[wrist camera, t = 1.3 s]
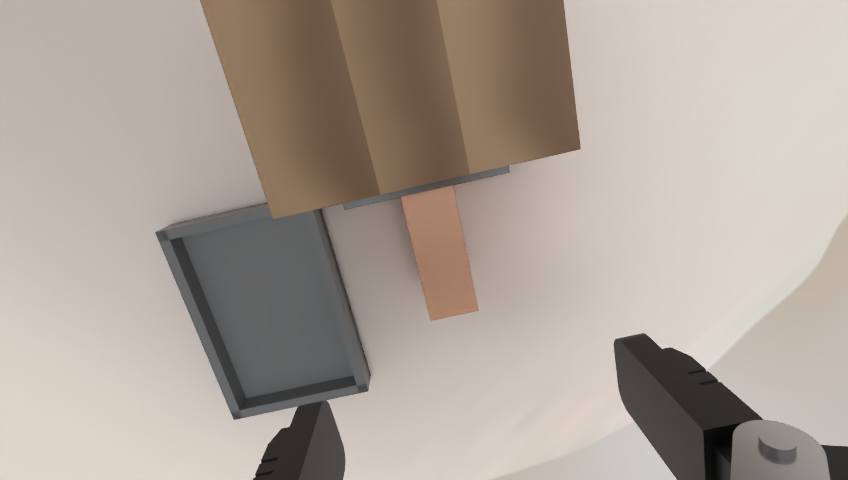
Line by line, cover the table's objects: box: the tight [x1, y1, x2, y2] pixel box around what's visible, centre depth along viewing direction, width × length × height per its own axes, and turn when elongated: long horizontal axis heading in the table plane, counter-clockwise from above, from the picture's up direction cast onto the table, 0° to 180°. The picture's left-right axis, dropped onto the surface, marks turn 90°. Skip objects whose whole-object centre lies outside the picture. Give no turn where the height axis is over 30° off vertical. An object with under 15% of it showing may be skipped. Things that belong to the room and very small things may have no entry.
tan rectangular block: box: [401, 185, 478, 321], centre depth 24 cm, size 2×10×6 cm, turn 13°
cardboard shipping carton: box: [200, 0, 581, 219], centre depth 20 cm, size 12×10×10 cm
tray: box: [155, 202, 371, 420], centre depth 27 cm, size 9×13×2 cm
